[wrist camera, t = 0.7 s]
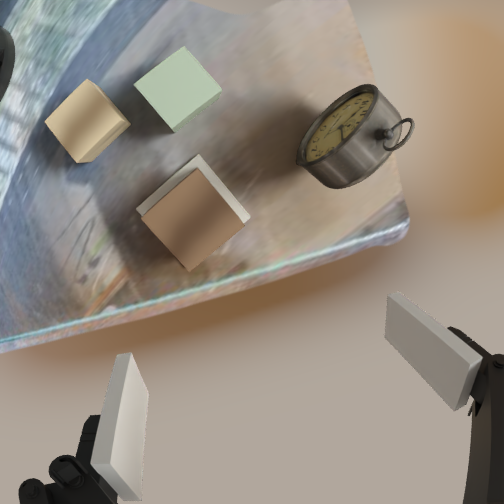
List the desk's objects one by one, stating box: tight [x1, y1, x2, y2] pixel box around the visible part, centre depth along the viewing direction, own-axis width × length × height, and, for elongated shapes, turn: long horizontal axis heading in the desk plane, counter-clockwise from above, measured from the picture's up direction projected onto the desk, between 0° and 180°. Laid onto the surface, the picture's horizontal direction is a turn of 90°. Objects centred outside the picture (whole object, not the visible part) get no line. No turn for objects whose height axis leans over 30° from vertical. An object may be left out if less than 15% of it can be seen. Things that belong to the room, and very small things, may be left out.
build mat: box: [136, 154, 251, 223], centre depth 35 cm, size 9×9×1 cm
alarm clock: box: [296, 84, 415, 189], centre depth 27 cm, size 11×5×16 cm, turn 143°
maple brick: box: [45, 79, 131, 163], centre depth 28 cm, size 6×6×5 cm
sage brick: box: [134, 46, 222, 133], centre depth 29 cm, size 6×6×5 cm
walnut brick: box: [141, 167, 245, 272], centre depth 32 cm, size 7×7×5 cm
